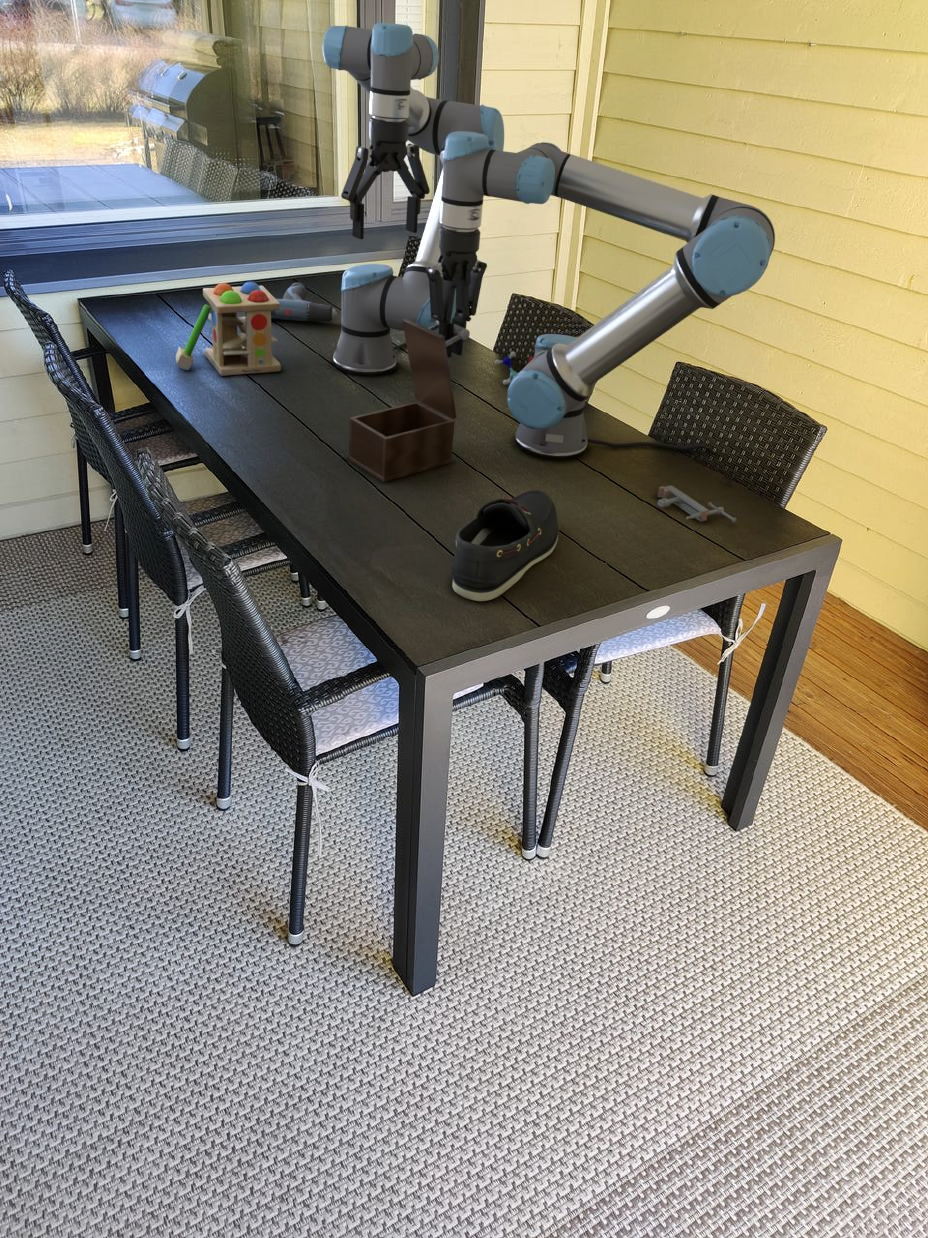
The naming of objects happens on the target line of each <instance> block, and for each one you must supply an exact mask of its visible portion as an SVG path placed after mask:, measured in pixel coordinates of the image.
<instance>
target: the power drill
mask: <svg viewBox="0 0 928 1238" xmlns="http://www.w3.org/2000/svg"><path fill="white" fill-rule="evenodd" d="M307 295H308V290H307V287H306V285H304V284H303V283H301V282H293V283H292V284H291V285H290V286H289V287H288V288H287V289H286V291H285V292H284V294H283V297H282V298H275V299H276V300H277V301H278V302H279V303H280V310H271V319H274V320H275V319H276V320H283V321H294V322H295V321H297V322H332V321H333V320H334V319H336V318H337V317H338V312H337V311H336V308H334V307H333V306H332V305H331V304H324V303H317V302H313V301H307V300H305V299H306V297H307Z"/></svg>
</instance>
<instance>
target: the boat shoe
mask: <svg viewBox="0 0 928 1238" xmlns="http://www.w3.org/2000/svg"><path fill="white" fill-rule="evenodd" d="M558 520H559V519H558V513H557V509H556V506H555V503H554V502H553V500H552V498H551V496H549V494H548V493H546V492H545V491H542V490H539V489H537V490H536V489H533V490H528V491H526V492H522V493H520V494H517V495H516V496H514V497H513V498H505V497H504V498H499V497H498V498H495V499H493V500H491V501H488V502H486V503H485V504H483V505H482V506H481V507H480V508H479V509H478V511H477V512H476V514H475V516H474V518H472V519H470V520H469V521H468V522H467V523H465V525H463V526H461V527H460V528H459V529H458V530H457V532H456V534H455V536H454V538H453V544H455V548H454V549H455V552H454V556H453V560H452V567H450V573H451V575H453V576H452V585H451V586H452V589H453V591H454V592H455V593H456V594H457V595H459V596H460V597H463V598H464V599H468V600H470V601H471V600H472V601H476V602H486V601H490V600H493V599H496V598H498V597H499V596H501V595H502V594H504V593H505V592H506V591H507V590H508V589H510V588H511V587H512V586H514V585H515V584H516V583H517V582H518V581H520V579H522V577H523V575H524V574H525V573H526V572H527V571H528V570H529V569H530V568H531V567H533V565H535V564H536V563H539V562H541V561H543V560H544V559H546V558H547V557H549V556H550V555H551V554H552V553H553V551H554V550H555V548H556V546H557V543H558V539H559V522H558Z"/></svg>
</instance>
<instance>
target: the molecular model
mask: <svg viewBox="0 0 928 1238" xmlns="http://www.w3.org/2000/svg"><path fill="white" fill-rule="evenodd" d="M516 355H517V354H516V352H515V351H511V352H510V354H509V356H508V357H504V359H503V360H500V359H496V360H494V363H495V365H497V366H499V365H500V364H504V365H506V366H507V367H508V369H509V371H510V373H509V377H508V379H504V380H502V385H504V386H510V384H511V381H512V380H513V378H514V376H515V375H516V374H518V373H519V372H517V371H516V370H514V369H513V367H512V365H511V362H512V361H511V359H512V358H514V357H515V356H516ZM533 358H534V356H531V357H529V358H528V363H529V362H530V361H531V360H532V359H533Z"/></svg>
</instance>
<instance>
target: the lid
mask: <svg viewBox="0 0 928 1238" xmlns="http://www.w3.org/2000/svg"><path fill="white" fill-rule="evenodd" d="M402 322H403V328H404V331H403V333H404V338H405V343H406V345H407V346H406V349H407V354H408V360H409V366H410V367H409V368H410V371H411V378H412V385H413V390H414V395H415V400H416V401H418V402H420V403H422V404H424V405H426V406H427V407H429V408H431V409H433V410H435V411H437V412H439V413H440V414H442V415H444V416H446V417H448V418H450V419H452V420H455V419H457V411H456V406H455V405H456V404H455V397H454V391H453V385H452V377H451V370H450V364H449V358H448V357H447V350H446V347H447V346H449V345H450V344H452V343H454V342H456V341H458V340H460V339H462V340H463V341H467V340H468V339H469V338H470V334H471V333H470V330H469V329H467V328H466V329H465V328H463V327H461V326H458V325H456V324H454V328H453V335H454V336H455V337H453V338H451V339H449V340H447V341H445V337H444V336H443V335H441V334H439V333H436V332H434V331H433V330H435V329H437V328H438V329H439V321H437V320H436V323H435V324H434V325H432V326H430V327H429V328H426V327H424V326H421V325H419V324H417V323H415V322H413V321H411V320H408V319H406V318H405V319H403V320H402ZM451 323H452V322H451Z"/></svg>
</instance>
